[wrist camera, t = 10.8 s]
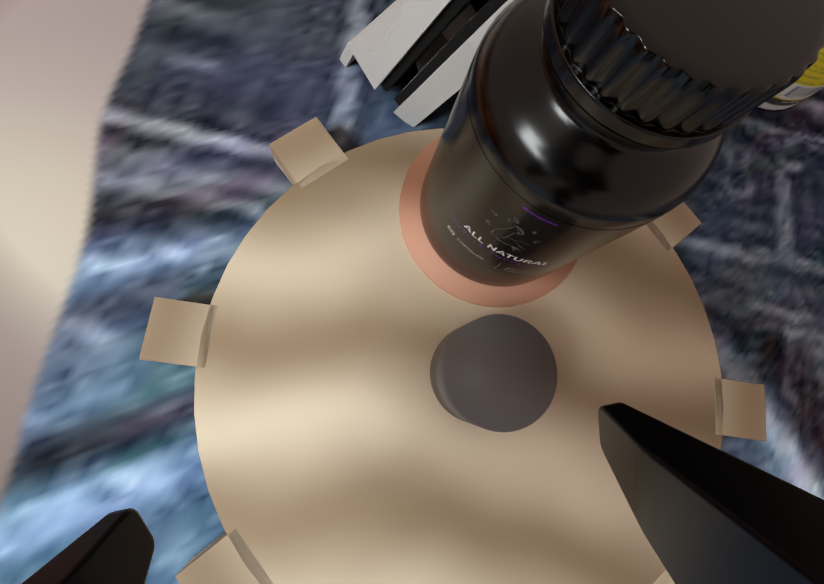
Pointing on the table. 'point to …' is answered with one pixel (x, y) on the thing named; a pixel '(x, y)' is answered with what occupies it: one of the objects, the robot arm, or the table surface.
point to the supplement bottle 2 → (799, 87)
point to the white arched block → (422, 50)
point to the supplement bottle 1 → (598, 122)
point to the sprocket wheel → (430, 389)
